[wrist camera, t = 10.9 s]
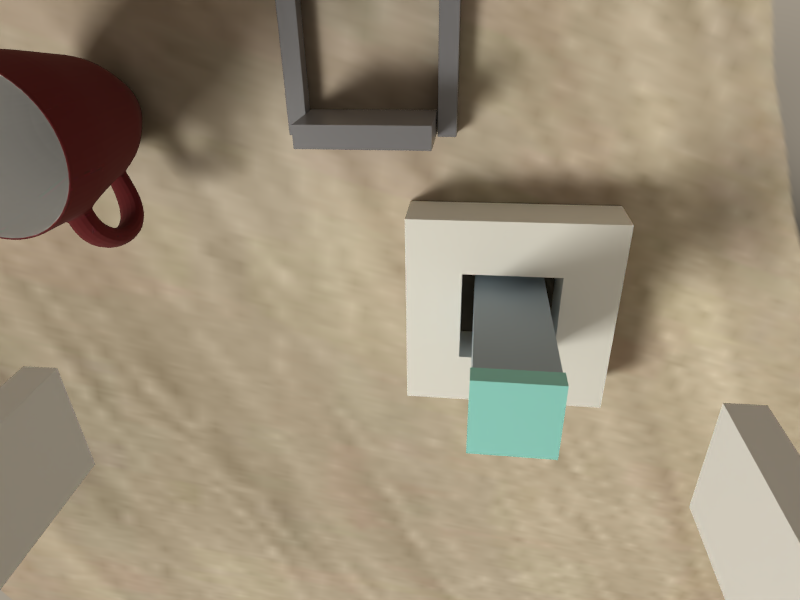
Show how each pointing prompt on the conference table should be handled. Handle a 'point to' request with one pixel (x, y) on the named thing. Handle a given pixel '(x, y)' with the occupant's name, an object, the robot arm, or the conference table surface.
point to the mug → (65, 147)
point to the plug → (514, 371)
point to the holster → (368, 124)
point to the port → (513, 256)
